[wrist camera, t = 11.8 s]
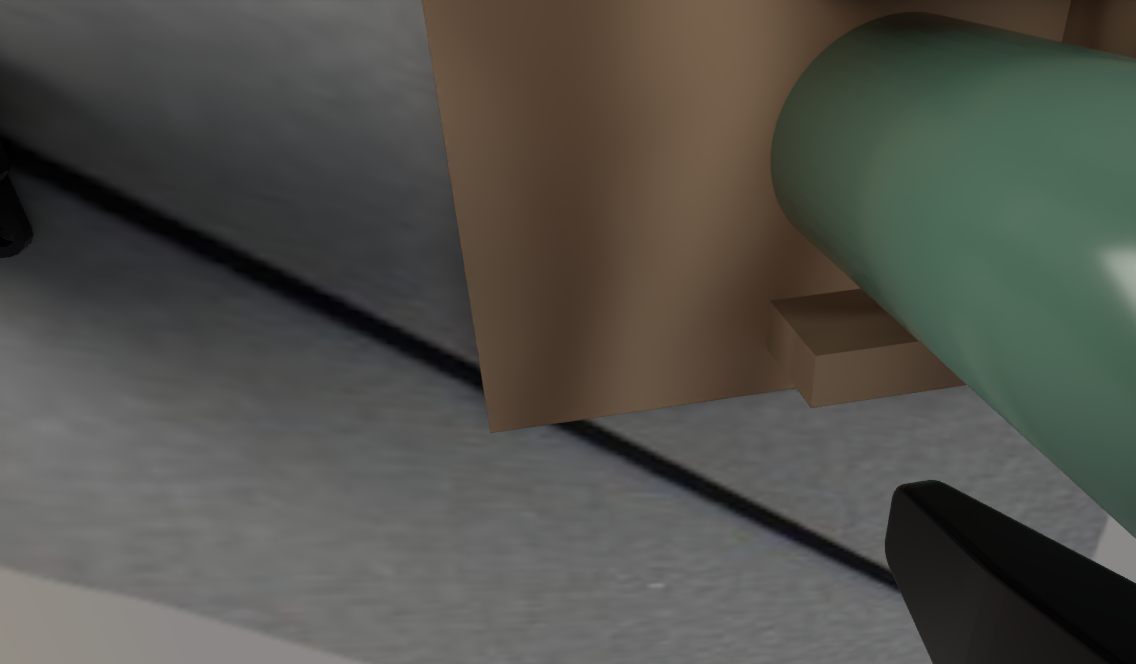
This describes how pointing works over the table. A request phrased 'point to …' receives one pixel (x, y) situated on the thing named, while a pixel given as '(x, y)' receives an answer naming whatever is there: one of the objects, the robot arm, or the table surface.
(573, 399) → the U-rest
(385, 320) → the table surface
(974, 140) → the oil bottle
